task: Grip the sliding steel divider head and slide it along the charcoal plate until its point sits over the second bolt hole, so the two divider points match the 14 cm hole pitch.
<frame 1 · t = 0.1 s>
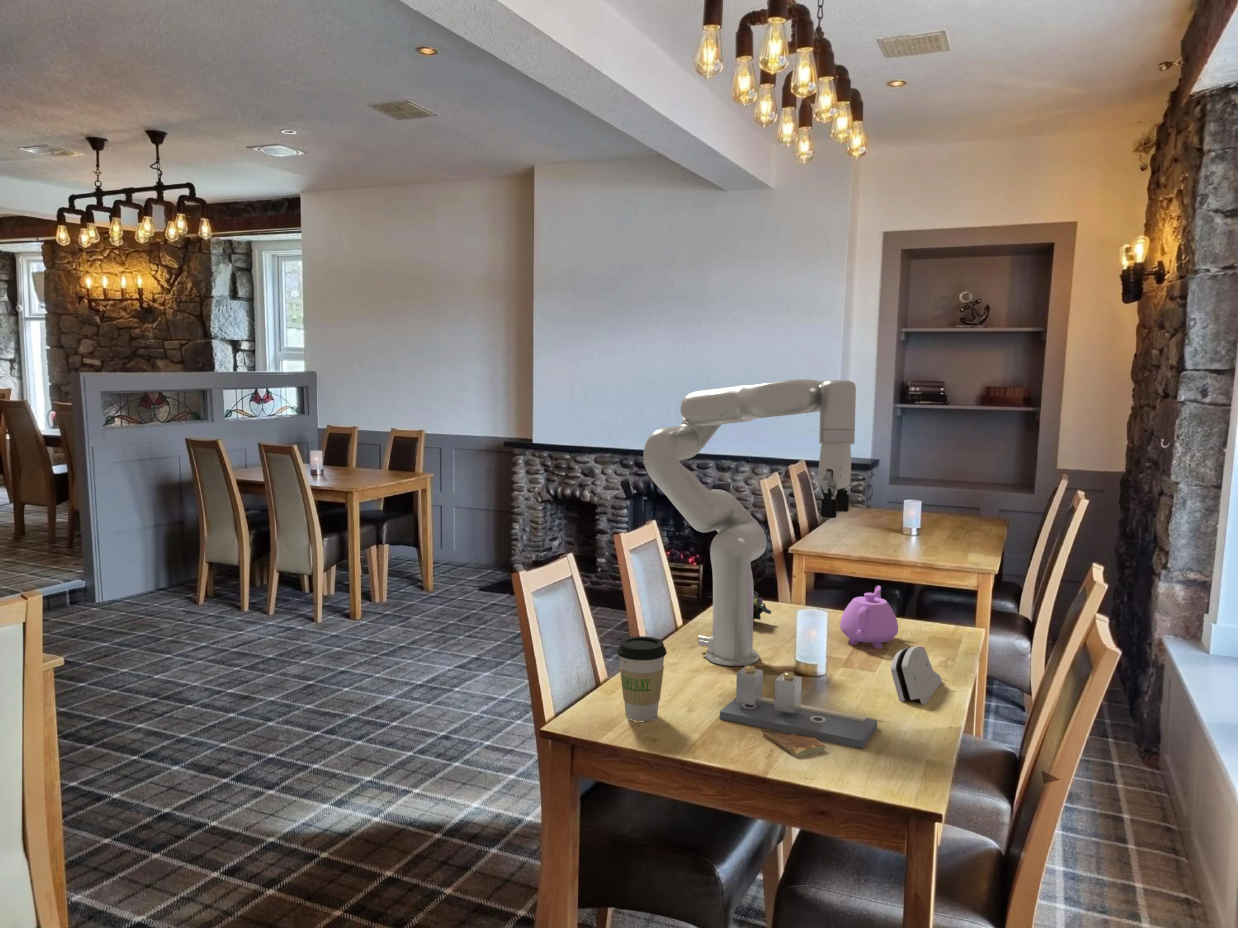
hand: (835, 514, 194), 37 cm above the table, tool pointing down, fingers open, 9 cm apart
grey layered slab: (914, 691, 188), on the table
divider head: (788, 692, 171), point 6 cm above the table, slide at 0.0 cm
coffee cup: (641, 717, 174), on the table
teapot: (869, 641, 223), on the table
shard: (791, 751, 160), on the table
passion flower: (744, 625, 237), on the table
hole plate: (797, 722, 171), on the table
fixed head: (749, 713, 175), resting on hole plate
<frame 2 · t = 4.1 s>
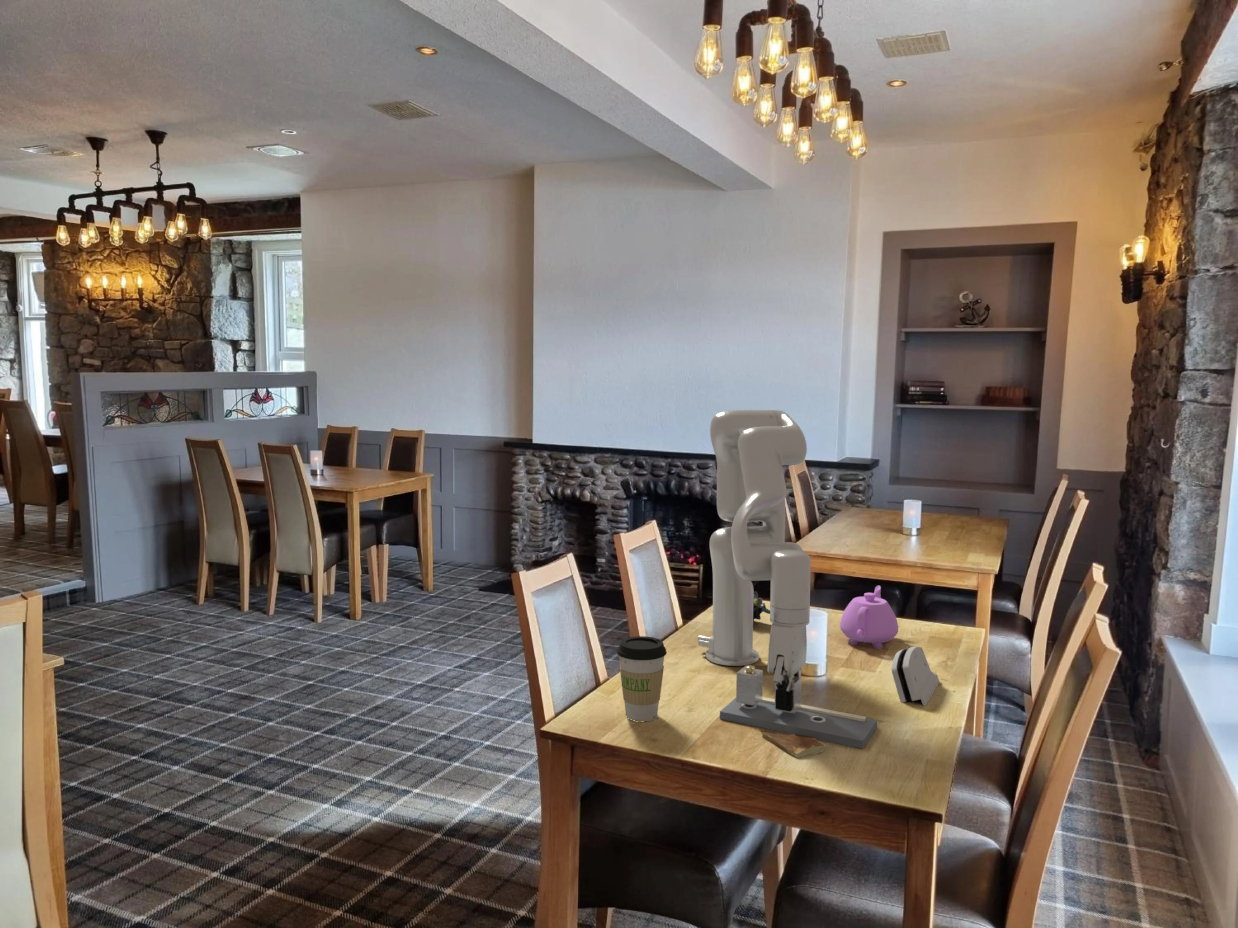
hand: (787, 704, 171), 3 cm above the table, tool pointing down, fingers closed on divider head, 4 cm apart
divider head: (788, 692, 171), point 6 cm above the table, slide at 0.0 cm, touching gripper
everything else where it was.
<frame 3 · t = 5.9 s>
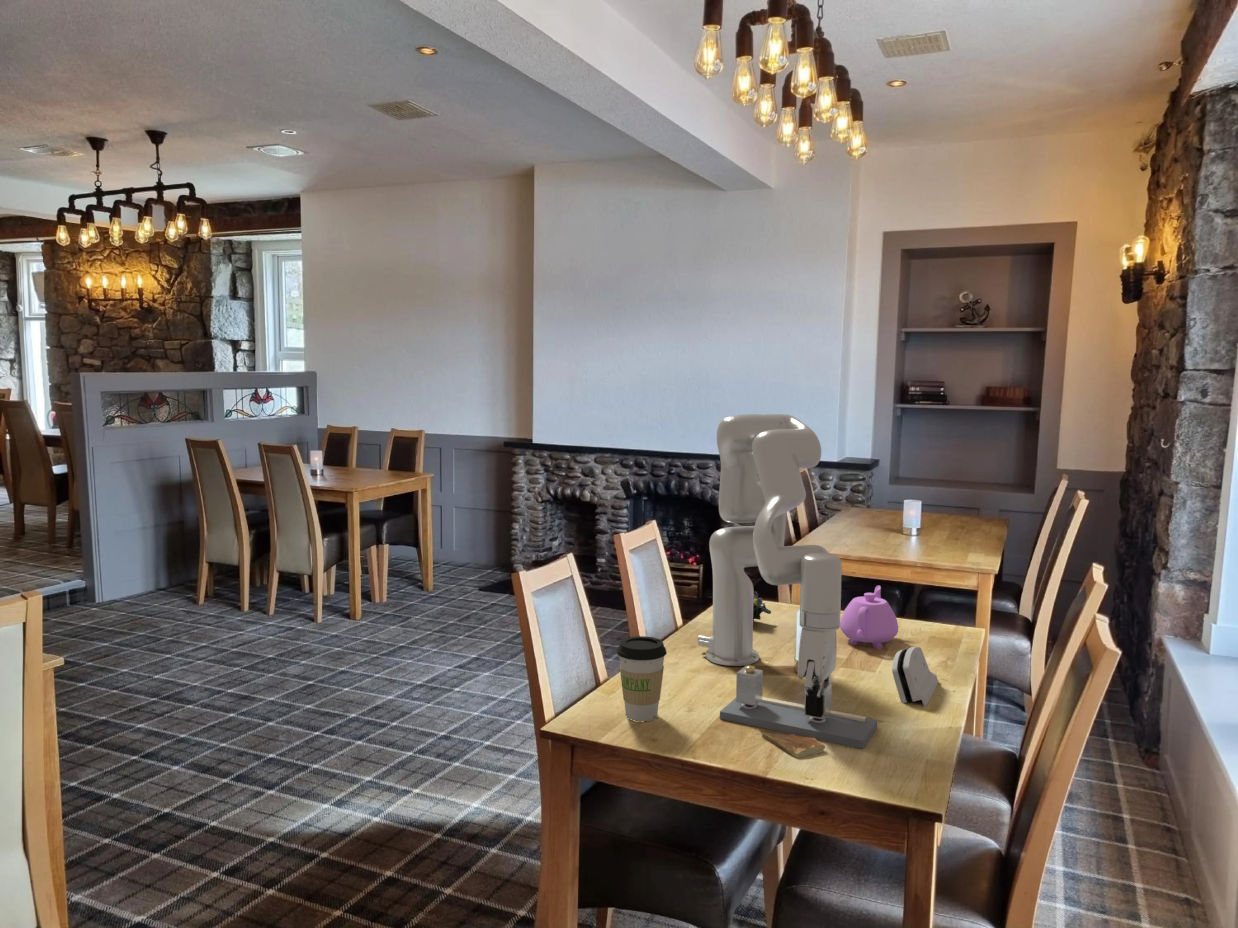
hand: (817, 710, 168), 3 cm above the table, tool pointing down, fingers closed on divider head, 4 cm apart
divider head: (818, 697, 168), point 6 cm above the table, slide at 5.9 cm, touching gripper
everything else where it was.
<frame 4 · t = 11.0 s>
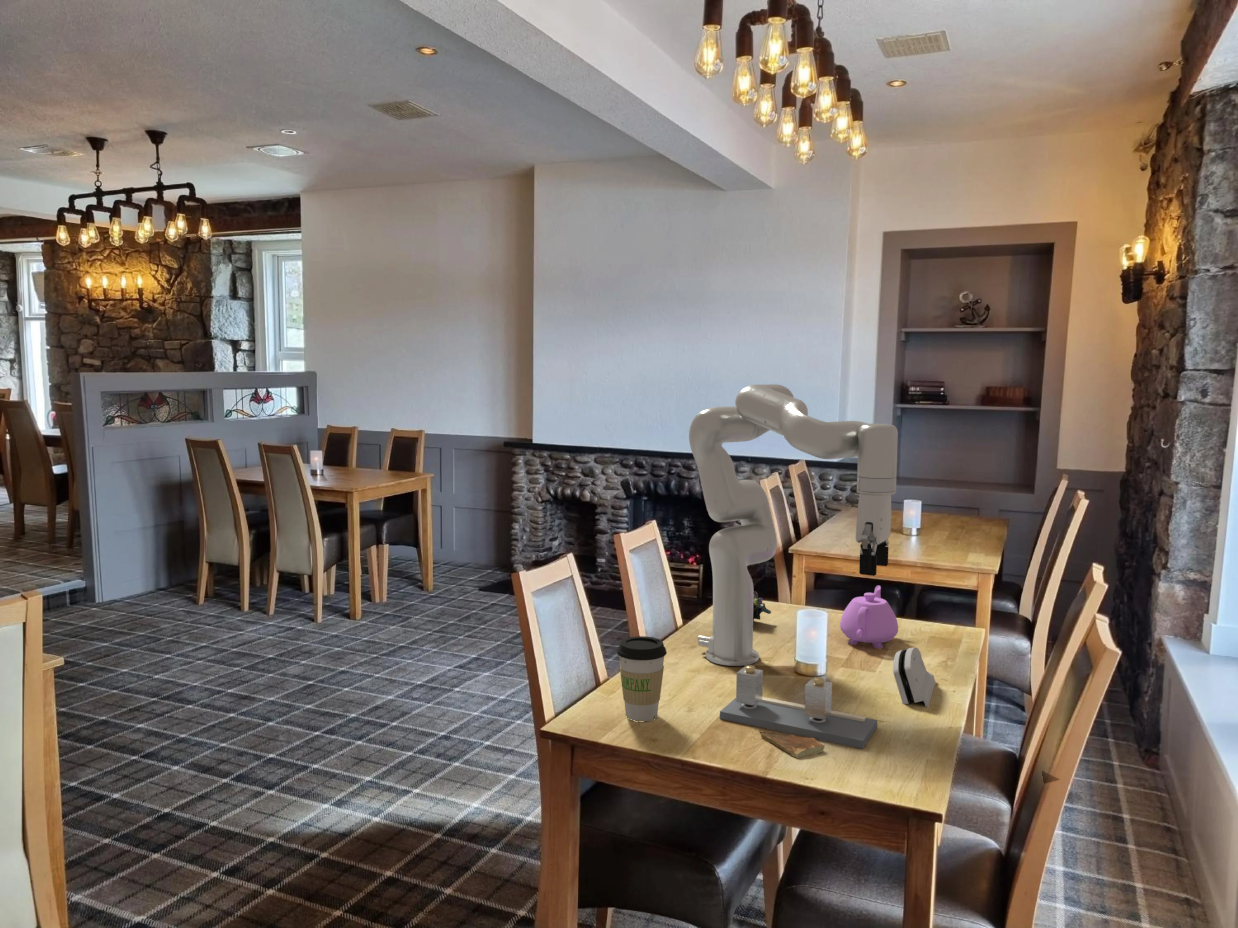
hand: (873, 569, 176), 28 cm above the table, tool pointing down, fingers open, 9 cm apart
divider head: (818, 697, 168), point 6 cm above the table, slide at 6.0 cm
at the end: divider head slide at 6.0 cm; the gripper is holding nothing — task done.
